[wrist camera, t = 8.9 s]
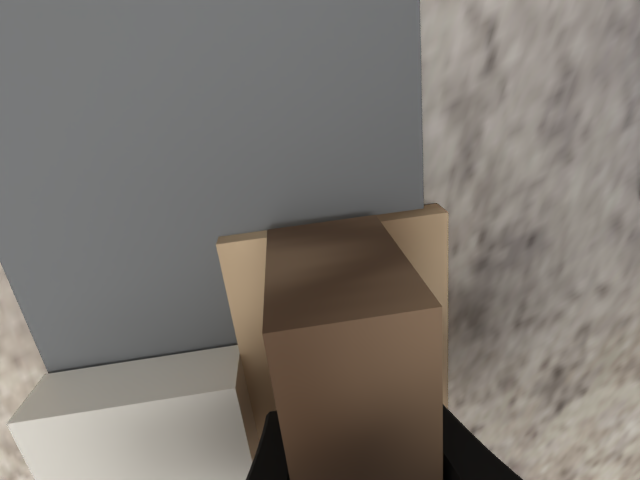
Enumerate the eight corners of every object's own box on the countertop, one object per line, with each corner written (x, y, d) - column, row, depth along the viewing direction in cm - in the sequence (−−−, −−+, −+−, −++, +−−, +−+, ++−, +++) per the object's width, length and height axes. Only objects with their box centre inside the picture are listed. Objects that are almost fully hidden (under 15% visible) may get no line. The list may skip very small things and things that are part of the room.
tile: (235, 388, 11) (271, 545, 14) (241, 341, 13) (272, 486, 16) (6, 424, 11) (85, 579, 13) (47, 370, 13) (109, 514, 15)
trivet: (437, 203, 13) (448, 212, 12) (438, 449, 16) (447, 469, 16) (219, 232, 12) (216, 244, 11) (272, 477, 16) (271, 499, 15)
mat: (407, -385, 8) (412, -400, 8) (425, 432, 16) (428, 438, 16) (-249, -343, 8) (-268, -359, 7) (103, 485, 15) (100, 493, 15)
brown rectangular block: (375, 214, 12) (442, 306, 7) (392, 474, 15) (443, 647, 11) (267, 229, 11) (261, 333, 7) (310, 488, 15) (326, 670, 11)
